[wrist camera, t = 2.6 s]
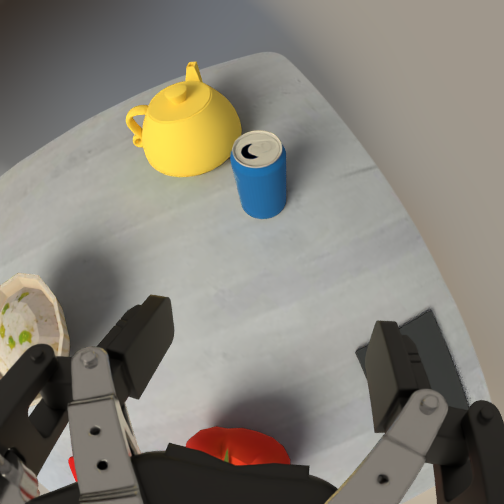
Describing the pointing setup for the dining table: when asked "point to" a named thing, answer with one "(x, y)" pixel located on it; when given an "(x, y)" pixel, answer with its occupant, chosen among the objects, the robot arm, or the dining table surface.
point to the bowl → (29, 320)
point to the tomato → (239, 446)
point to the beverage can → (260, 173)
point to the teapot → (186, 127)
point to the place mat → (432, 359)
